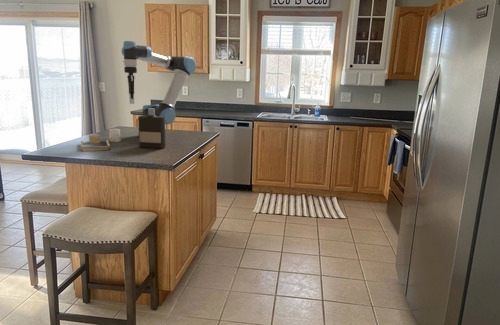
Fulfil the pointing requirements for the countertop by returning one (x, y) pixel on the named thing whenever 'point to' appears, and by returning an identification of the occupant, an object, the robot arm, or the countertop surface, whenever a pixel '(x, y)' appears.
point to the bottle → (151, 130)
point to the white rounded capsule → (114, 135)
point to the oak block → (94, 139)
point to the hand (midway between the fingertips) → (131, 103)
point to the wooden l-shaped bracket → (95, 147)
